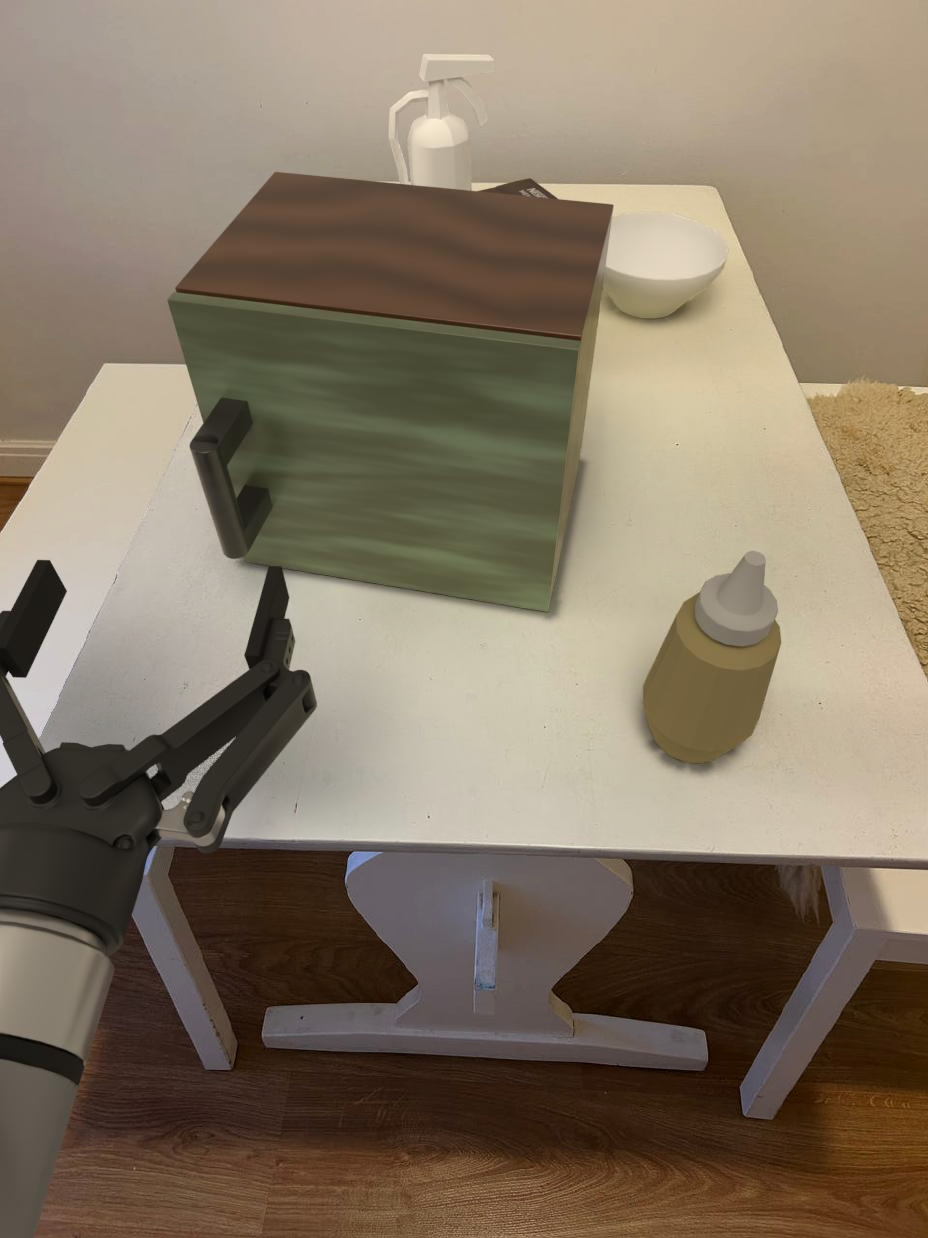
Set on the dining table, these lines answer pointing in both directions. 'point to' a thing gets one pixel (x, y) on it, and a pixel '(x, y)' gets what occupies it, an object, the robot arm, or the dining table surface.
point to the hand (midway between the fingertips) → (165, 578)
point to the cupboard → (422, 264)
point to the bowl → (660, 262)
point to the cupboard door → (381, 445)
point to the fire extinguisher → (440, 123)
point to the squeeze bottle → (715, 665)
